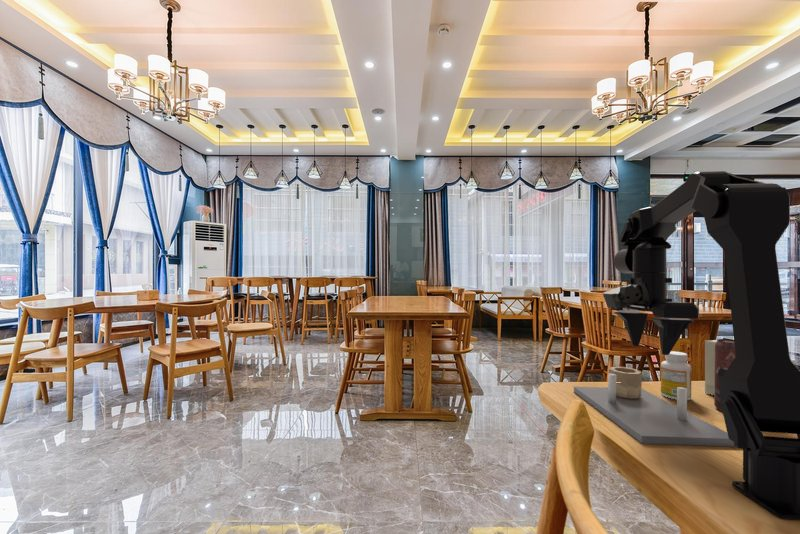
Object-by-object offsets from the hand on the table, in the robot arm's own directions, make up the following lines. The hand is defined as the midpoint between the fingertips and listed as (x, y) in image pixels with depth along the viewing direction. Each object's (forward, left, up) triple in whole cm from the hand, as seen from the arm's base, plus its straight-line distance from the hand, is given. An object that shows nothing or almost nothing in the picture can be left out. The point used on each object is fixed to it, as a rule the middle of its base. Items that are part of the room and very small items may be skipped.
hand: (649, 350), depth 74 cm
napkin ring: (+4, +3, -10) cm, 11 cm away
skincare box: (+9, -22, -12) cm, 27 cm away
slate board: (-4, +4, -12) cm, 13 cm away
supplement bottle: (+7, -10, -12) cm, 17 cm away
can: (-1, -16, -12) cm, 20 cm away
